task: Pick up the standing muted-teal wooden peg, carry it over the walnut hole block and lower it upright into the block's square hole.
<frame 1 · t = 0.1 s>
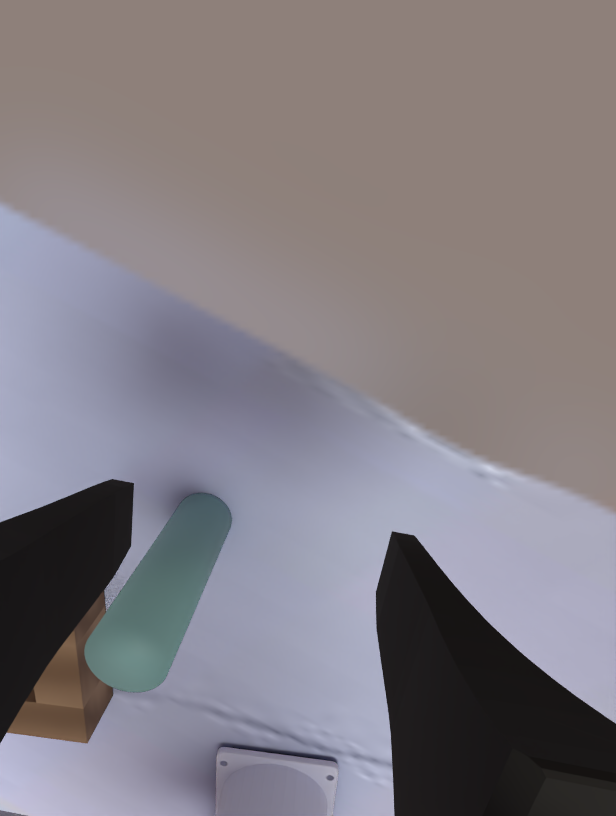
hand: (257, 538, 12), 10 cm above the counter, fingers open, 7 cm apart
peg: (204, 517, 24), on the counter
hole block: (29, 625, 27), on the counter
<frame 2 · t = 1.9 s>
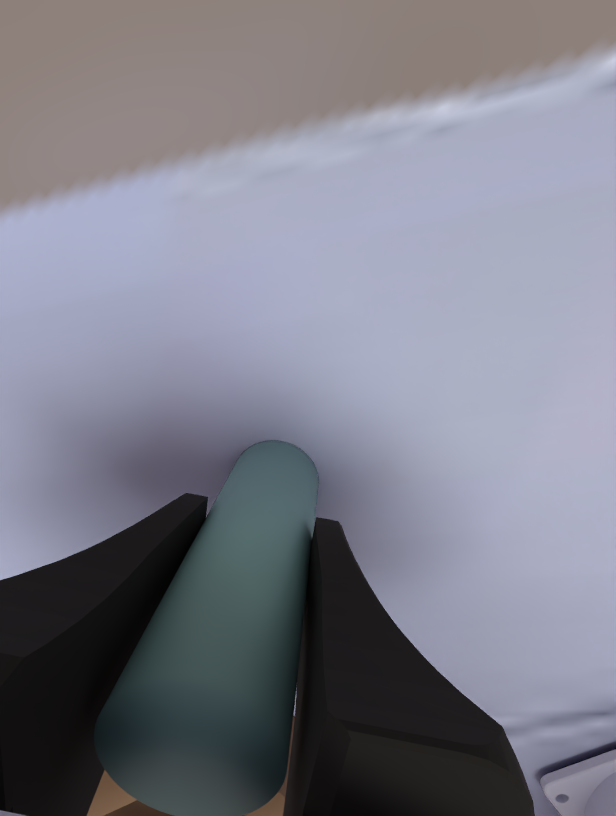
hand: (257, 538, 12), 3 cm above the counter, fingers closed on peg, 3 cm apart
peg: (275, 480, 15), on the counter, touching gripper
hole block: (200, 752, 20), on the counter
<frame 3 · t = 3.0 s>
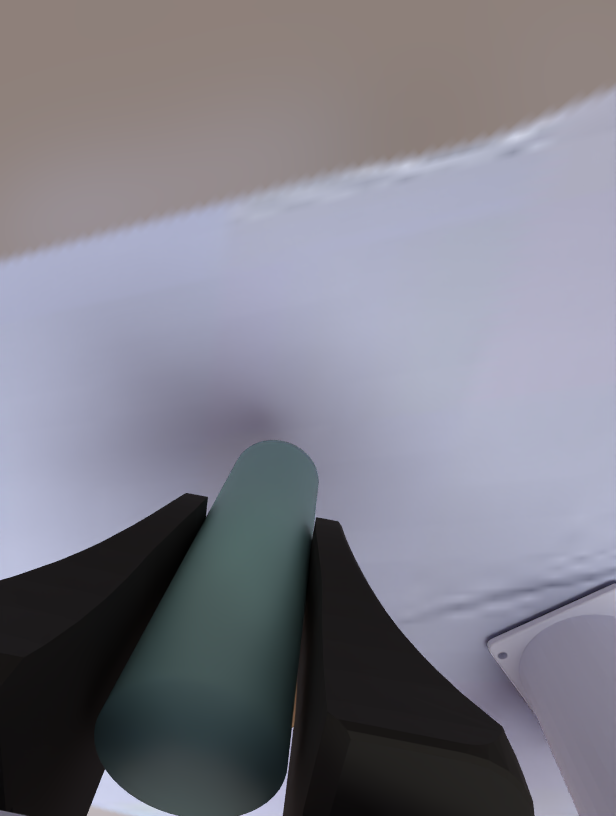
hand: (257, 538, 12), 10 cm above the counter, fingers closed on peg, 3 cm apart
peg: (275, 480, 15), point 7 cm above the counter, touching gripper
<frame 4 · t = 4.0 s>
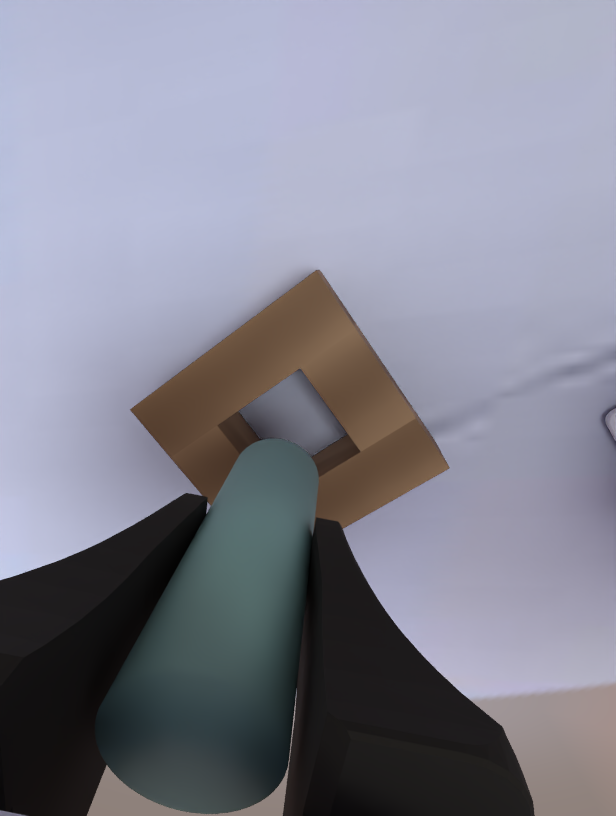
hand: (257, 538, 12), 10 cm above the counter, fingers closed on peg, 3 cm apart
peg: (275, 478, 15), point 7 cm above the counter, touching gripper
hole block: (295, 416, 22), on the counter
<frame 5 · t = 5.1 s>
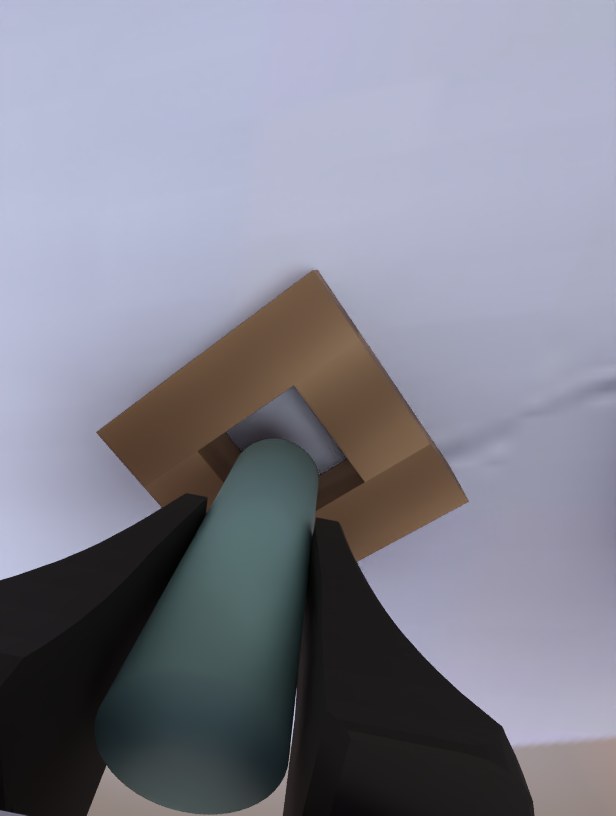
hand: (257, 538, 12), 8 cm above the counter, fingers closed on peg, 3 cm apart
peg: (275, 478, 15), point 4 cm above the counter, touching gripper
hole block: (290, 437, 19), on the counter
when the fingers open (4 cm above the counter, at t = 6.1 s): peg stays where it is, resting in hole block.
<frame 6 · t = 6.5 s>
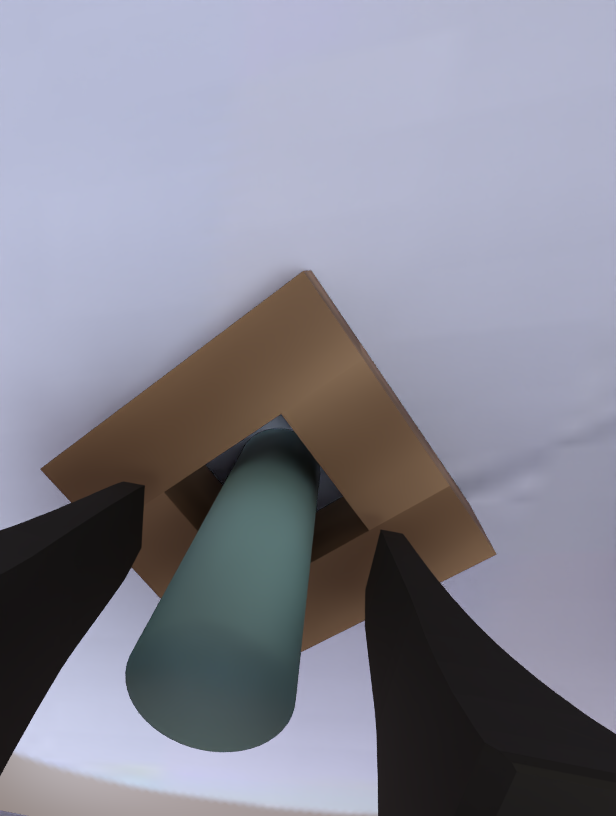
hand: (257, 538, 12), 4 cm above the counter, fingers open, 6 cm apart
peg: (279, 466, 16), resting in hole block
hole block: (279, 468, 16), on the counter
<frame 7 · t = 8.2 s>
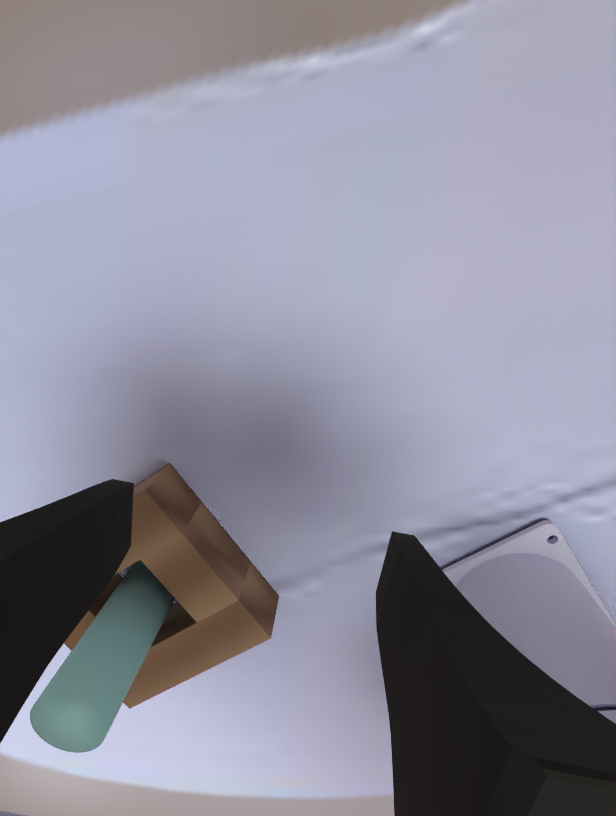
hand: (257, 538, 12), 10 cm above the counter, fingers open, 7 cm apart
peg: (160, 570, 25), resting in hole block
hole block: (159, 571, 25), on the counter
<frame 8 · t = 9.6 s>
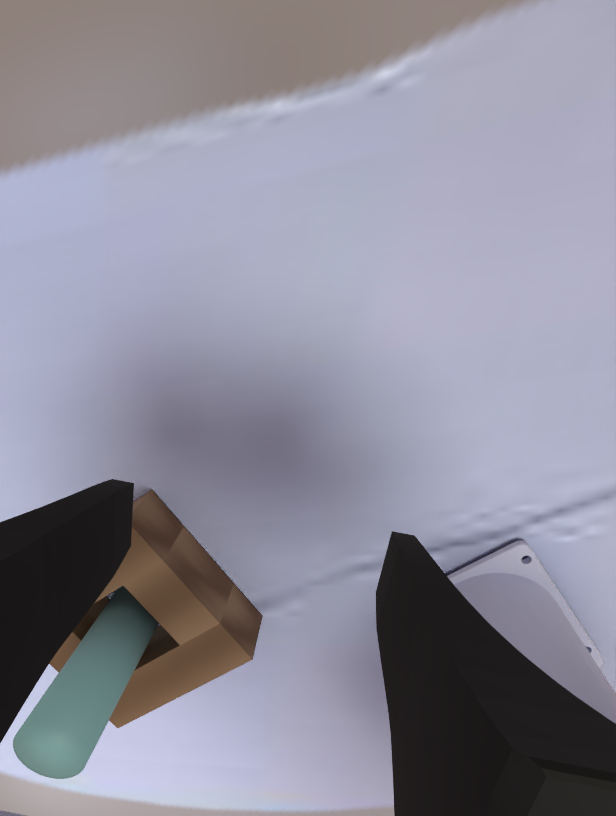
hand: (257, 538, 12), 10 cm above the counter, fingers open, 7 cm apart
peg: (145, 592, 26), resting in hole block
hole block: (145, 593, 26), on the counter
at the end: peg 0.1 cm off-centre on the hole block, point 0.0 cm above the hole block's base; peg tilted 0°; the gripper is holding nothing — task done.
